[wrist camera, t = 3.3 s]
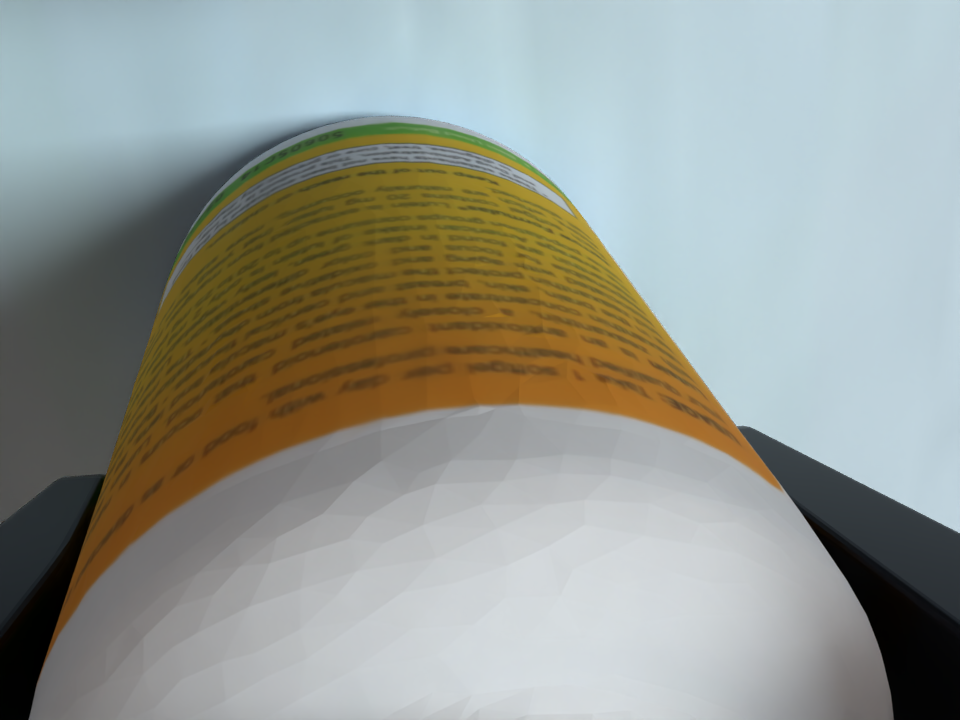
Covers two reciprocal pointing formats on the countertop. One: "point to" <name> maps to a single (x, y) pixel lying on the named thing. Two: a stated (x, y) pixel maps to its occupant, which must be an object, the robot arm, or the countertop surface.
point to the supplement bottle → (436, 475)
